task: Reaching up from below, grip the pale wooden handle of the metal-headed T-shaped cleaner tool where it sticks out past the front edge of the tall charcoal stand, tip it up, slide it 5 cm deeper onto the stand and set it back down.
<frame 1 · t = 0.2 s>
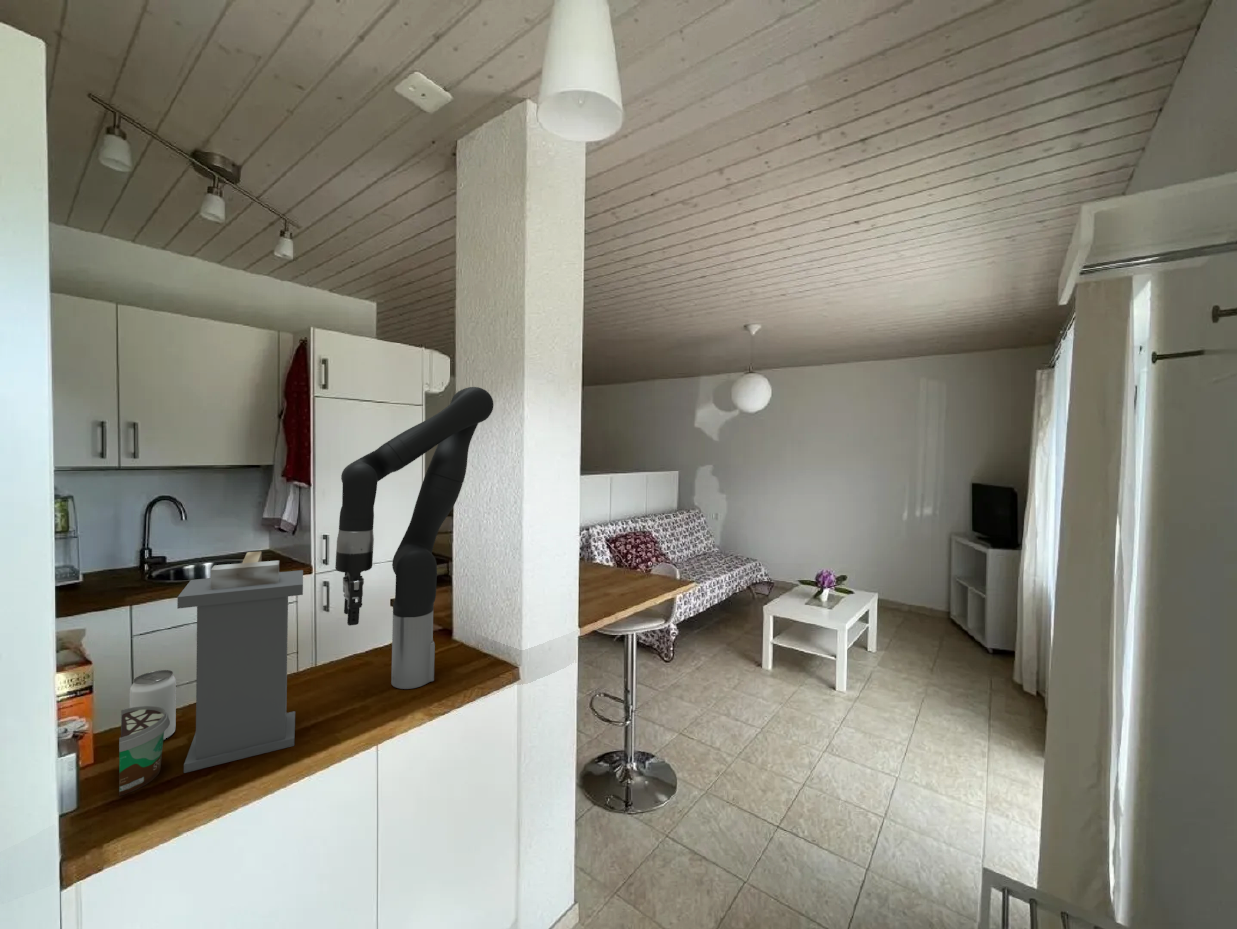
hand: (351, 618, 113), 18 cm above the worktop, tool pointing down, fingers open, 8 cm apart
can: (153, 738, 95), on the worktop
food container: (145, 775, 85), on the worktop
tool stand: (245, 741, 95), on the worktop
cleaner tool: (250, 573, 100), point 31 cm above the worktop, touching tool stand
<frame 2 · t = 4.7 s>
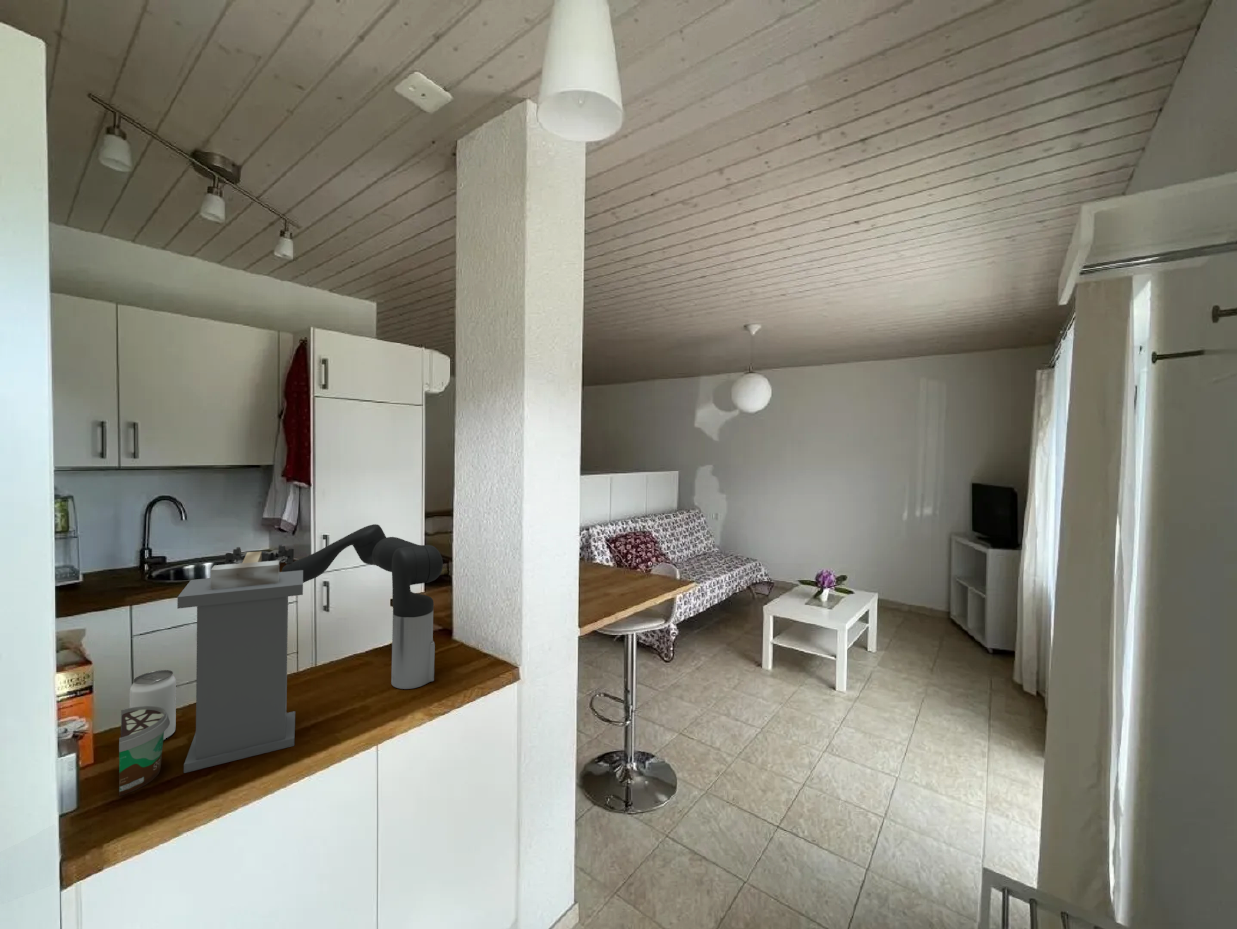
hand: (259, 549, 123), 31 cm above the worktop, tool pointing upward, fingers open, 8 cm apart
nothing on the worktop moved.
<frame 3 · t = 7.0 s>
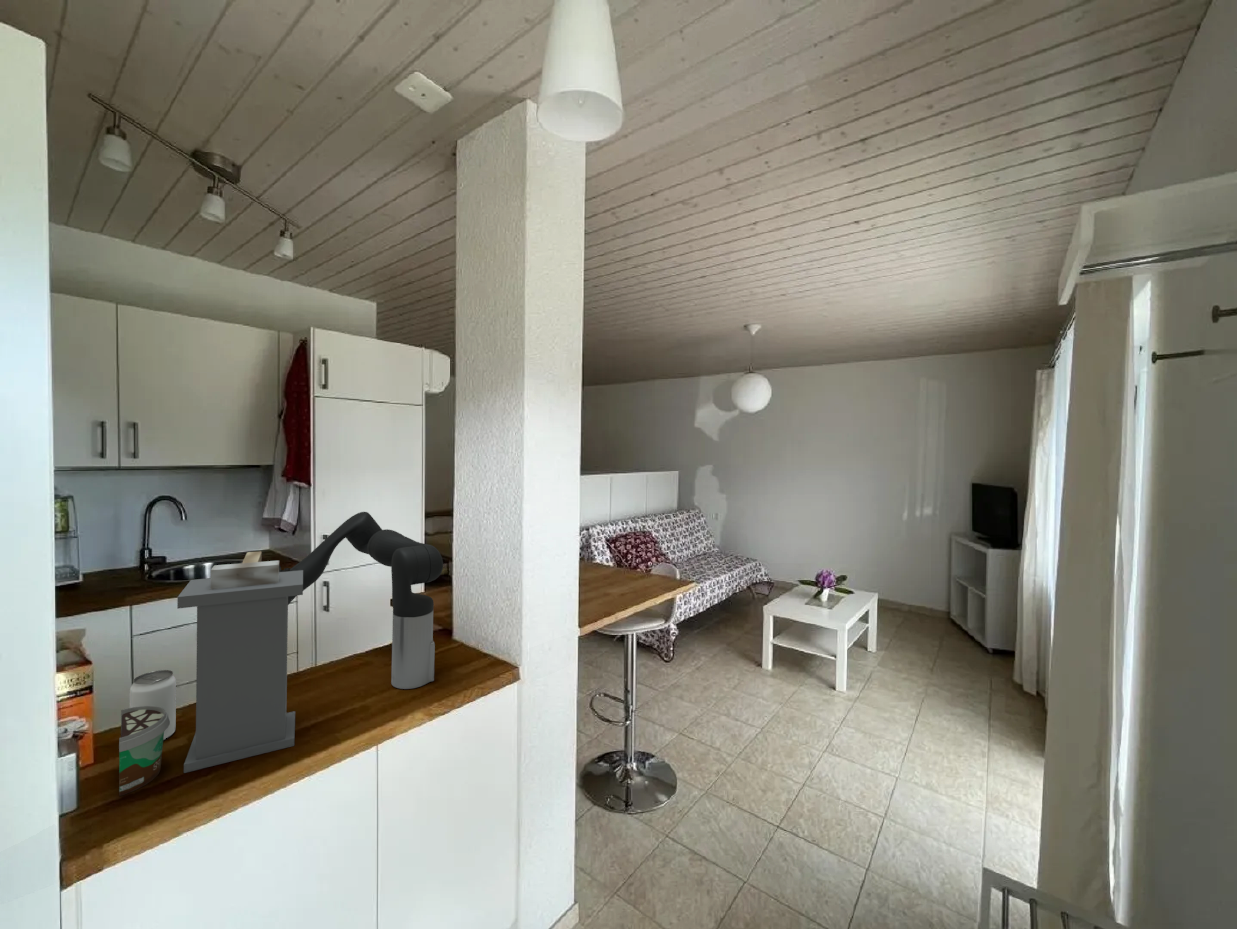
hand: (251, 569, 109), 29 cm above the worktop, tool pointing upward, fingers open, 8 cm apart
nothing on the worktop moved.
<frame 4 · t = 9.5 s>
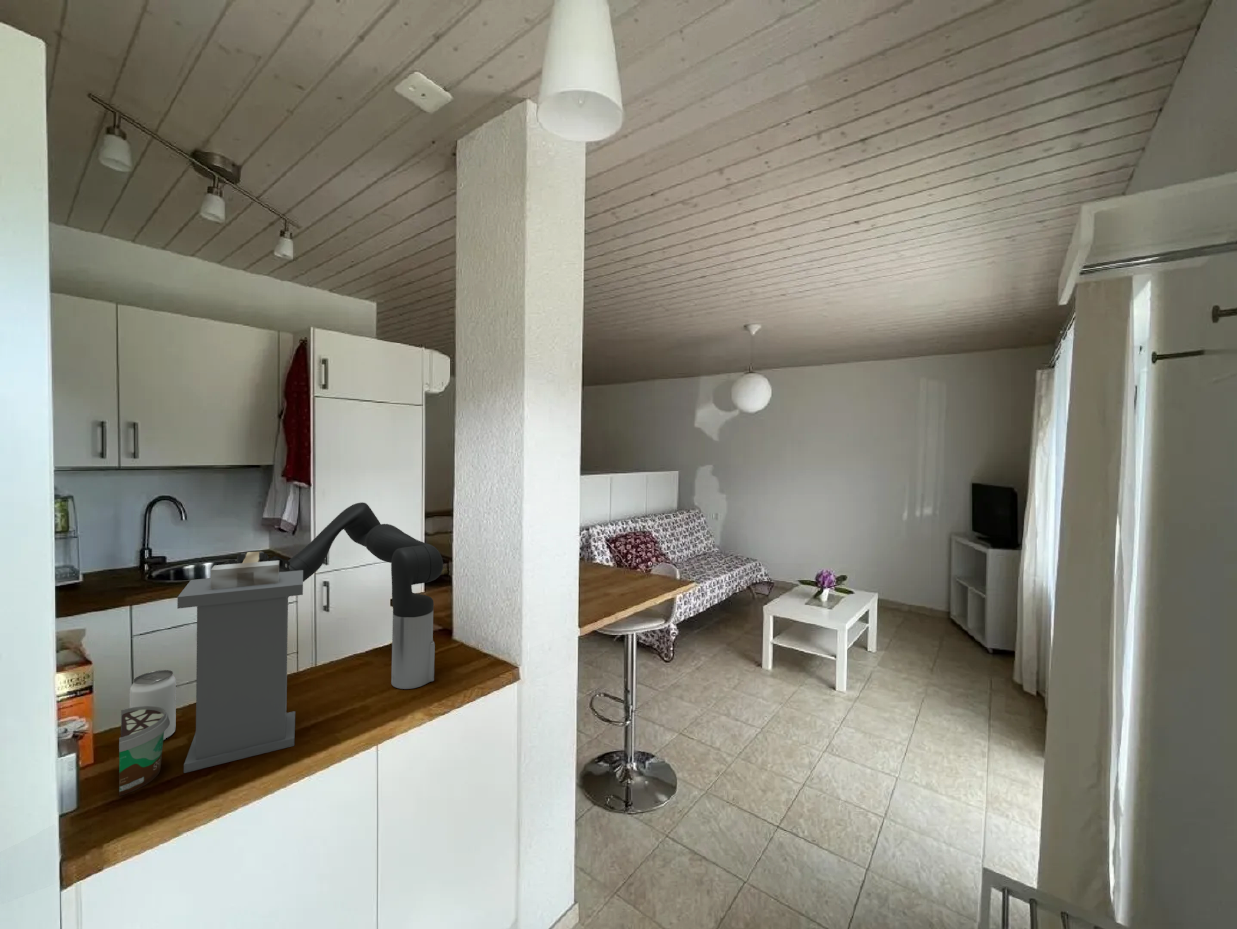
hand: (251, 556, 102), 34 cm above the worktop, tool pointing upward, fingers closed on cleaner tool, 2 cm apart
cleaner tool: (250, 573, 100), point 31 cm above the worktop, touching gripper, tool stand
everything else where it was.
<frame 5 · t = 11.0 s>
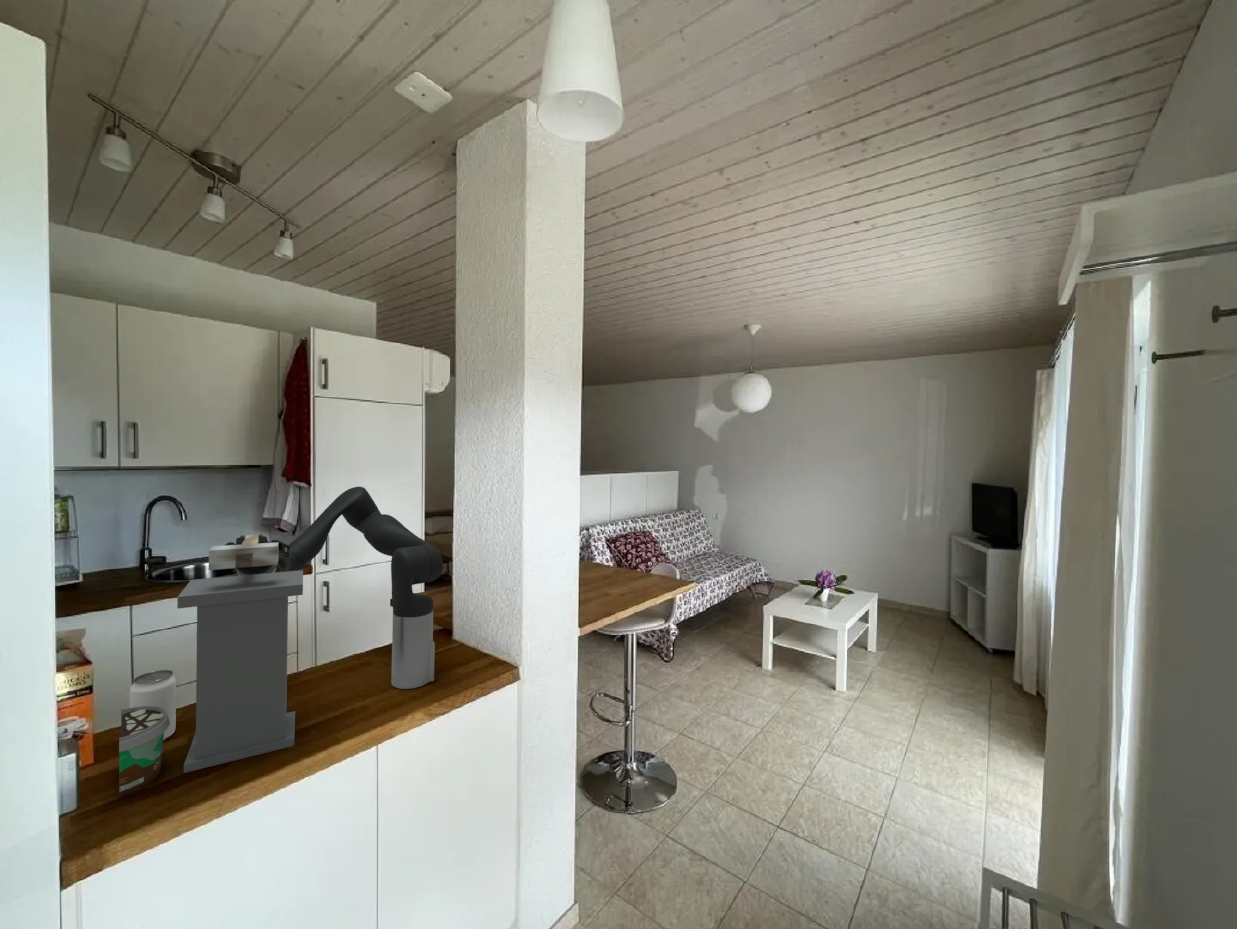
hand: (251, 539, 101), 38 cm above the worktop, tool pointing upward, fingers closed on cleaner tool, 2 cm apart
cleaner tool: (249, 556, 98), point 35 cm above the worktop, touching gripper
everything else where it was.
when the fingers open (34 cm above the worktop, at t = 12.8 s): cleaner tool stays where it is, resting on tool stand.
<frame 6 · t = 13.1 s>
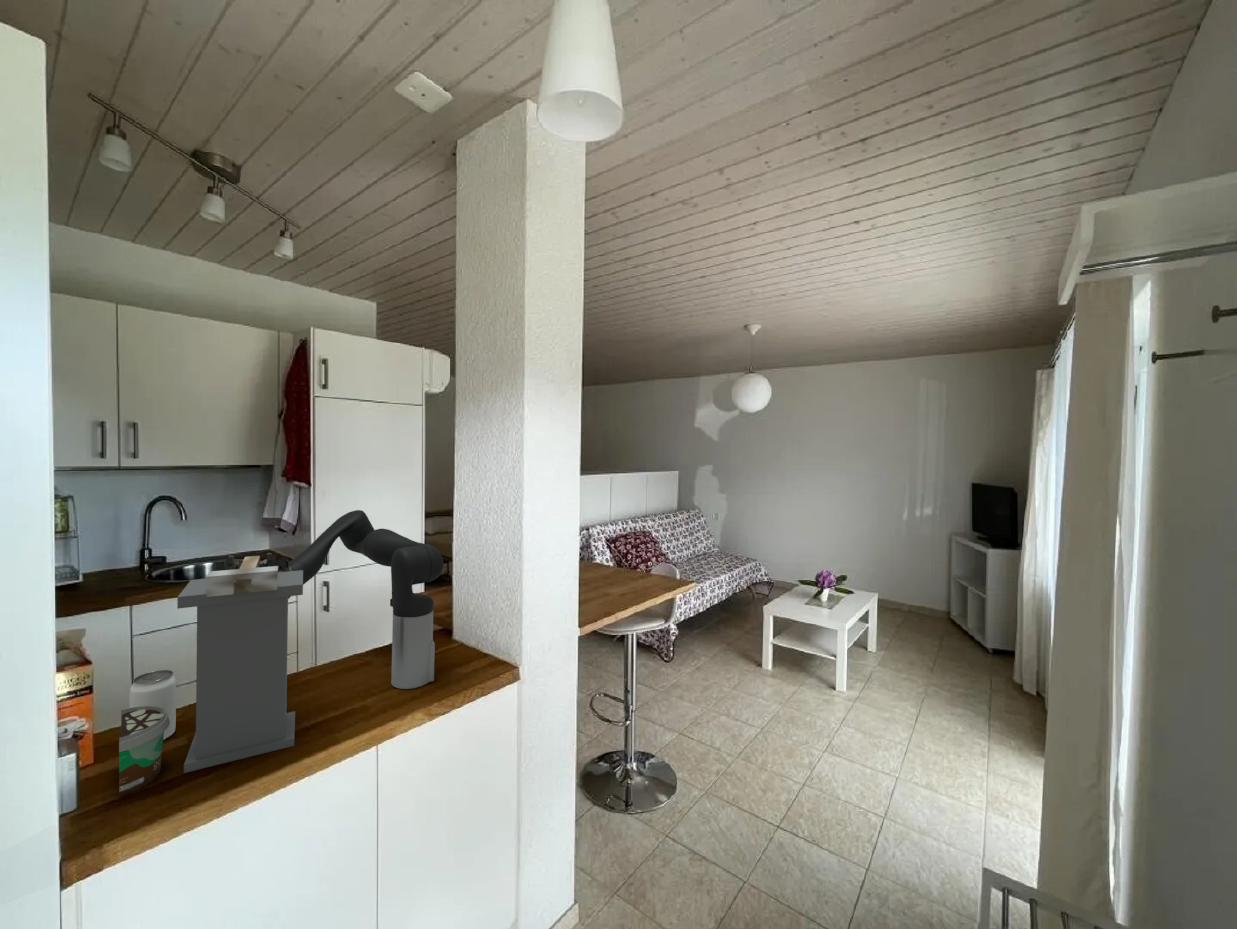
hand: (249, 558, 98), 34 cm above the worktop, tool pointing upward, fingers open, 5 cm apart
cleaner tool: (247, 579, 95), point 31 cm above the worktop, touching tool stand
everything else where it was.
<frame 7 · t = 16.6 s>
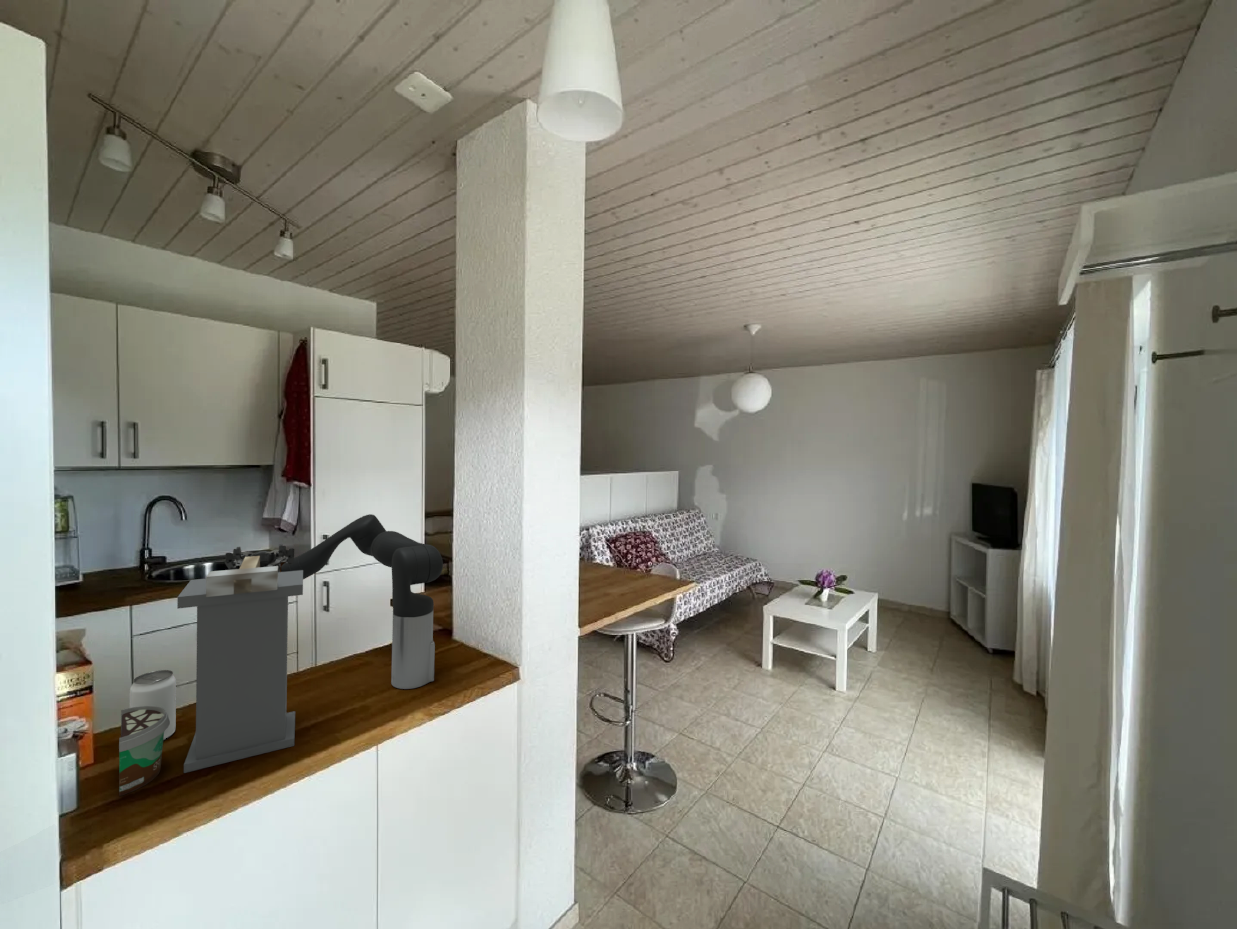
hand: (259, 549, 122), 31 cm above the worktop, tool pointing upward, fingers open, 8 cm apart
nothing on the worktop moved.
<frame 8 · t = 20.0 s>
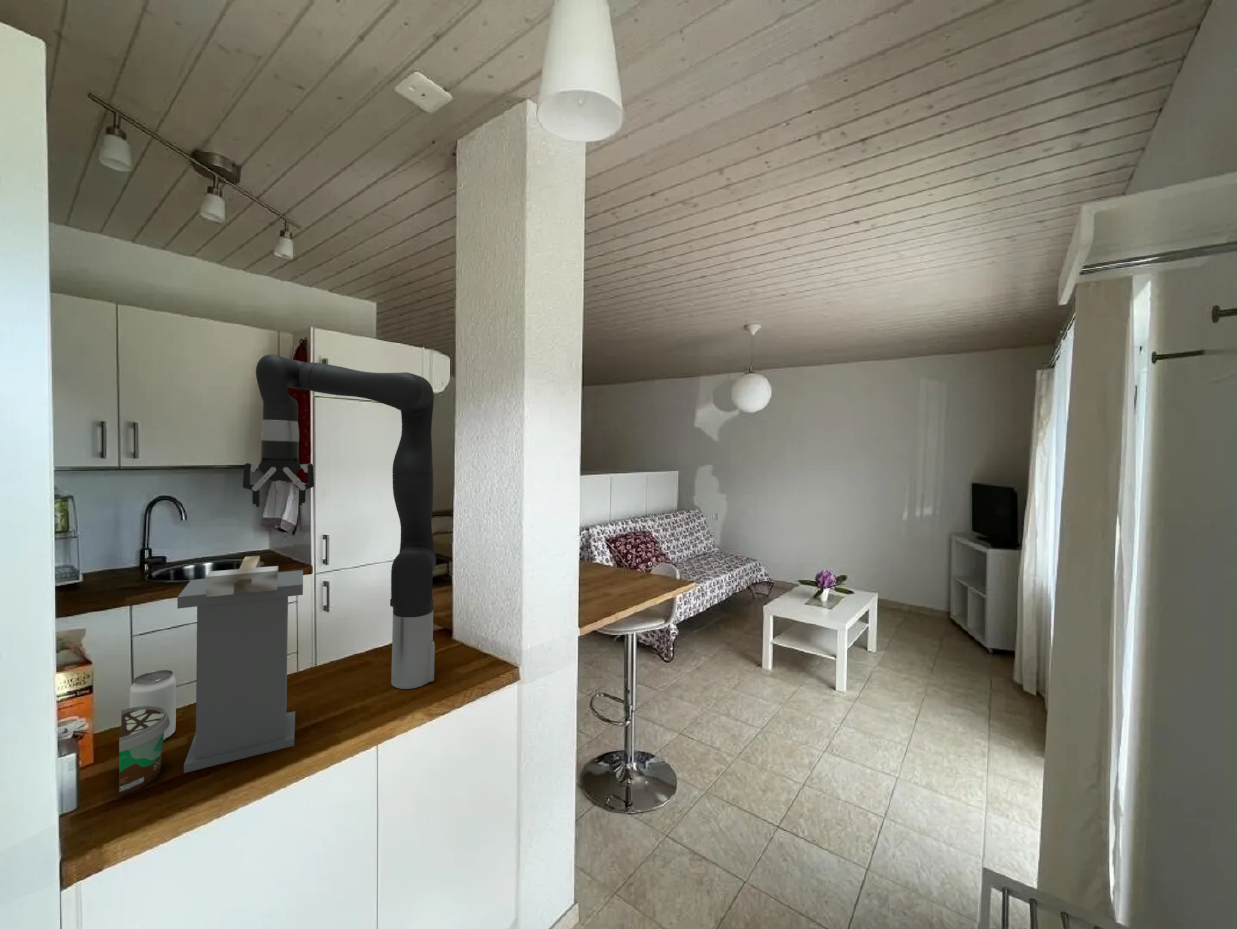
hand: (279, 505, 120), 42 cm above the worktop, tool pointing down, fingers open, 8 cm apart
nothing on the worktop moved.
at the end: cleaner tool inside the target area (0.8 cm from its centre), point 31.0 cm above the worktop; cleaner tool tilted 0°; the gripper is holding nothing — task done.
